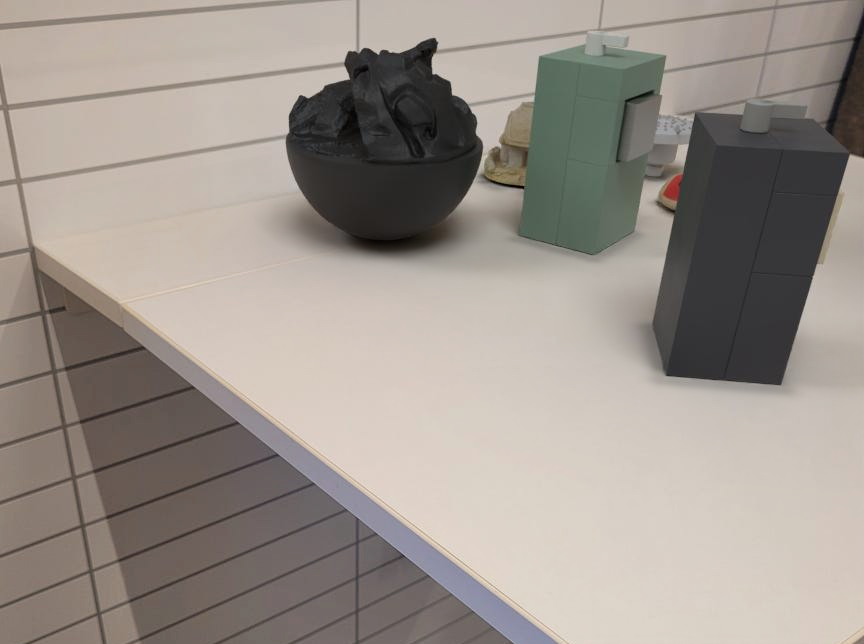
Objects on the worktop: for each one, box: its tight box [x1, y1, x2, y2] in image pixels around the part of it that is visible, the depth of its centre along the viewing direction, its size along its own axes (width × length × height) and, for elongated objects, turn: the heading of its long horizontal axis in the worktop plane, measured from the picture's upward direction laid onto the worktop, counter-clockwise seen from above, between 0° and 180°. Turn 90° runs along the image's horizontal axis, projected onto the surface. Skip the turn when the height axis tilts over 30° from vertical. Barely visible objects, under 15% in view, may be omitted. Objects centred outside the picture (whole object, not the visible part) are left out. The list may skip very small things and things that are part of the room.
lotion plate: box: [817, 188, 845, 265], centre depth 72 cm, size 1×6×5 cm, turn 173°
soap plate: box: [616, 93, 663, 162], centre depth 94 cm, size 1×6×5 cm, turn 143°
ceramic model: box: [483, 101, 534, 187], centre depth 116 cm, size 14×11×10 cm
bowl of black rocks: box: [285, 37, 484, 241], centre depth 95 cm, size 20×20×19 cm
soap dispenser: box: [518, 30, 667, 256], centre depth 97 cm, size 9×10×20 cm
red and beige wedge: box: [657, 173, 683, 212], centre depth 110 cm, size 7×10×4 cm
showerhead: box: [645, 113, 693, 178], centre depth 121 cm, size 9×7×10 cm
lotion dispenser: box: [651, 98, 851, 385], centre depth 73 cm, size 9×10×20 cm
